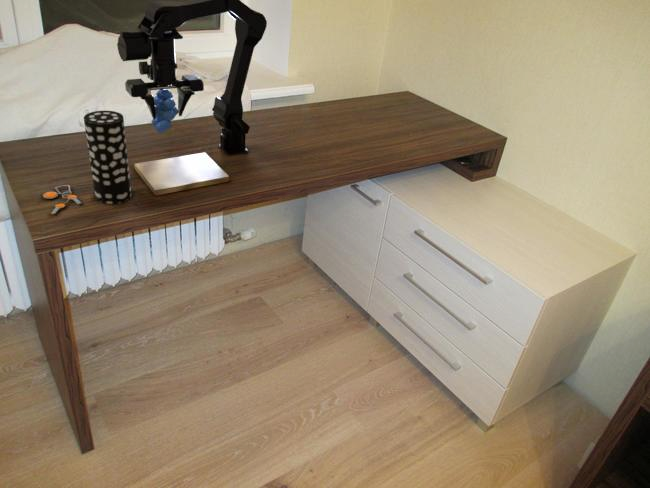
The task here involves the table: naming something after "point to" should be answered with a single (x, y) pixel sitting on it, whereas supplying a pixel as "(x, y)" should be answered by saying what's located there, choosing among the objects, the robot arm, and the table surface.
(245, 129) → the robot arm
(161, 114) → the grapes
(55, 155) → the table surface
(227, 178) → the board
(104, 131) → the spotted tube
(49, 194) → the key chain
